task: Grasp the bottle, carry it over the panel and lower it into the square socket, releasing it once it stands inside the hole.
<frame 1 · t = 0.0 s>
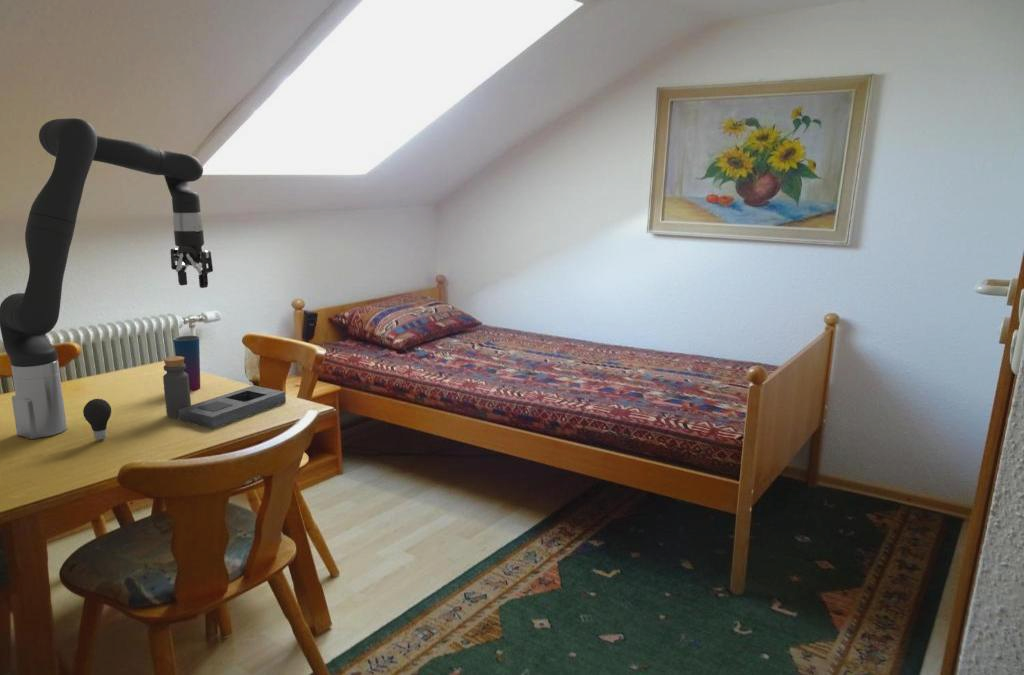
hand: (193, 286, 204), 29 cm above the table, fingers open, 8 cm apart
cup: (191, 389, 207), on the table
panel: (235, 411, 188), on the table
light bulb: (101, 441, 166), on the table
bottle: (179, 415, 184), on the table
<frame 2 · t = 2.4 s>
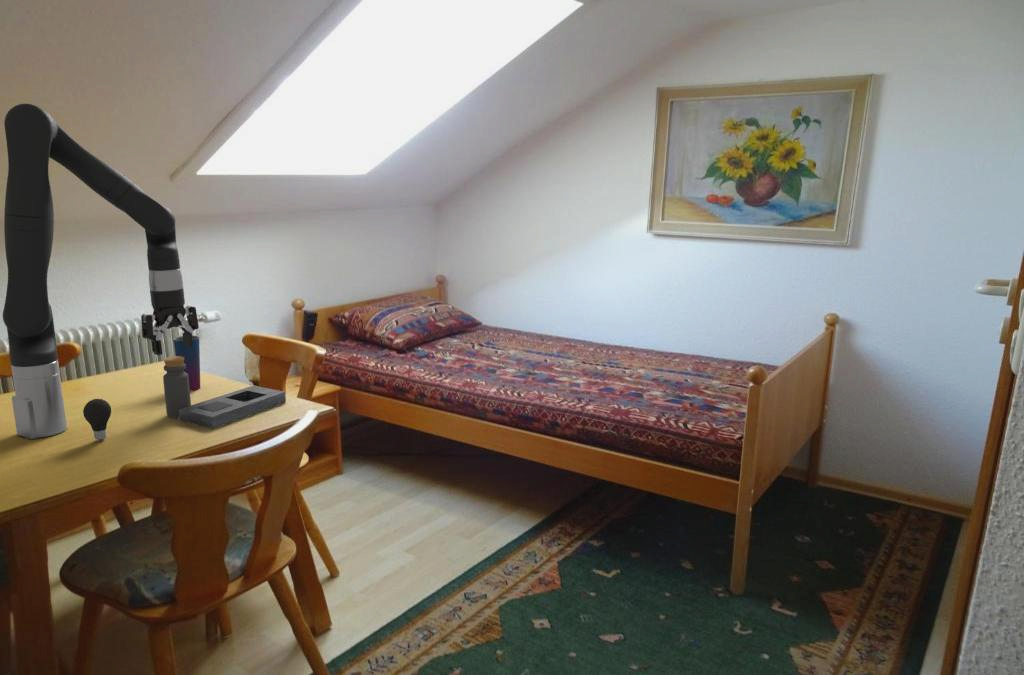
hand: (173, 350, 181), 17 cm above the table, fingers open, 8 cm apart
nothing on the table moved.
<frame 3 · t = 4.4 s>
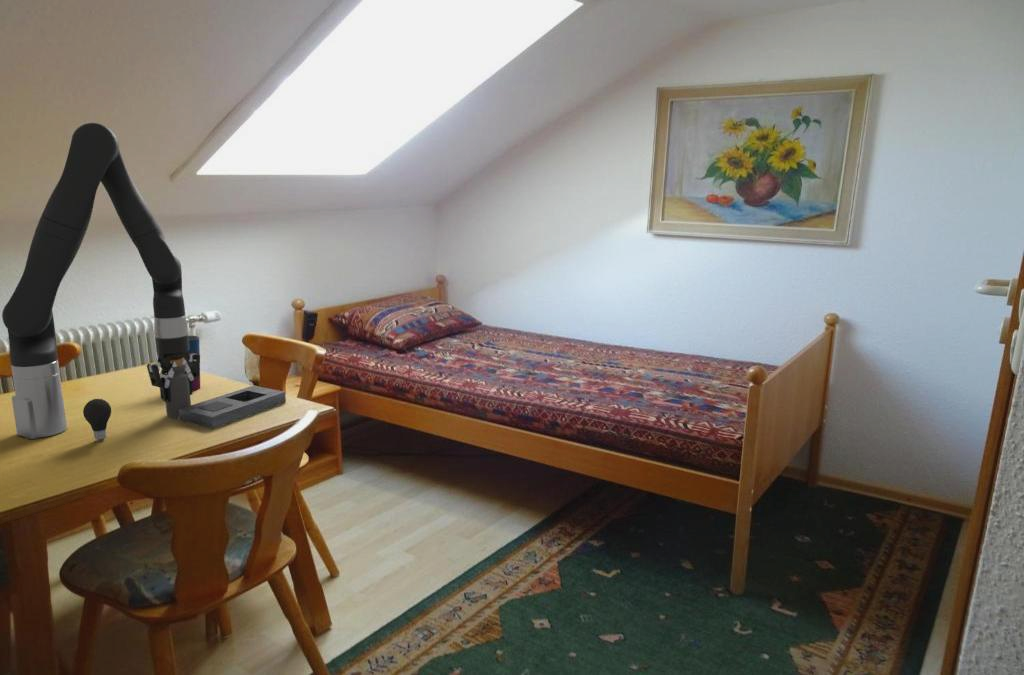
hand: (177, 397, 183), 5 cm above the table, fingers closed on bottle, 5 cm apart
bottle: (179, 415, 184), on the table, touching gripper
everything else where it was.
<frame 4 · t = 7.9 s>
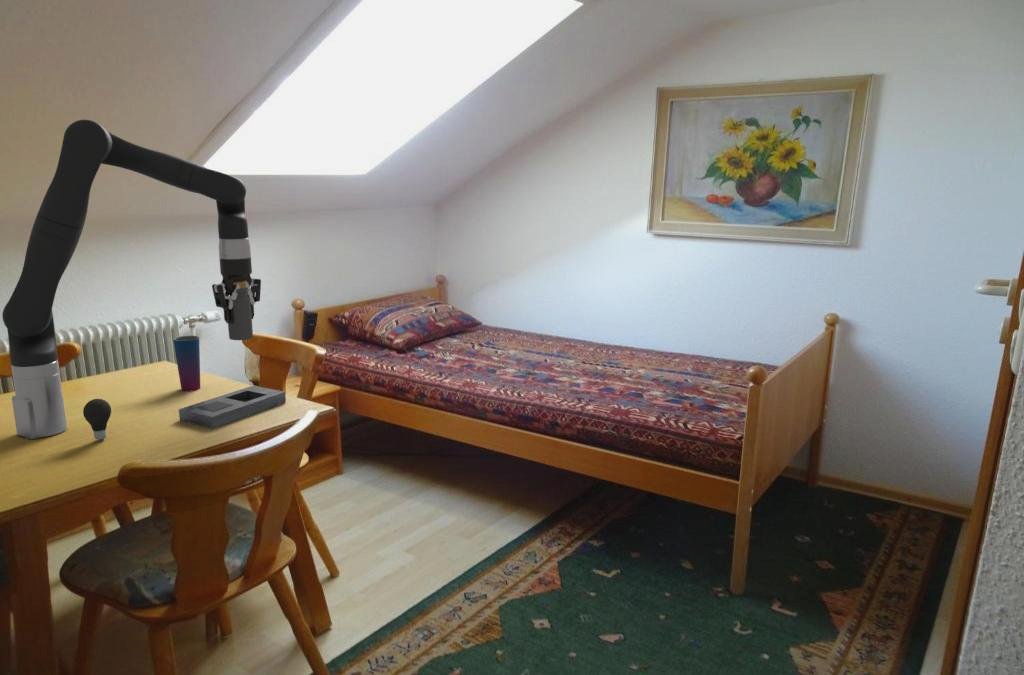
hand: (239, 320, 186), 23 cm above the table, fingers closed on bottle, 5 cm apart
bottle: (241, 338, 187), point 19 cm above the table, touching gripper
everything else where it was.
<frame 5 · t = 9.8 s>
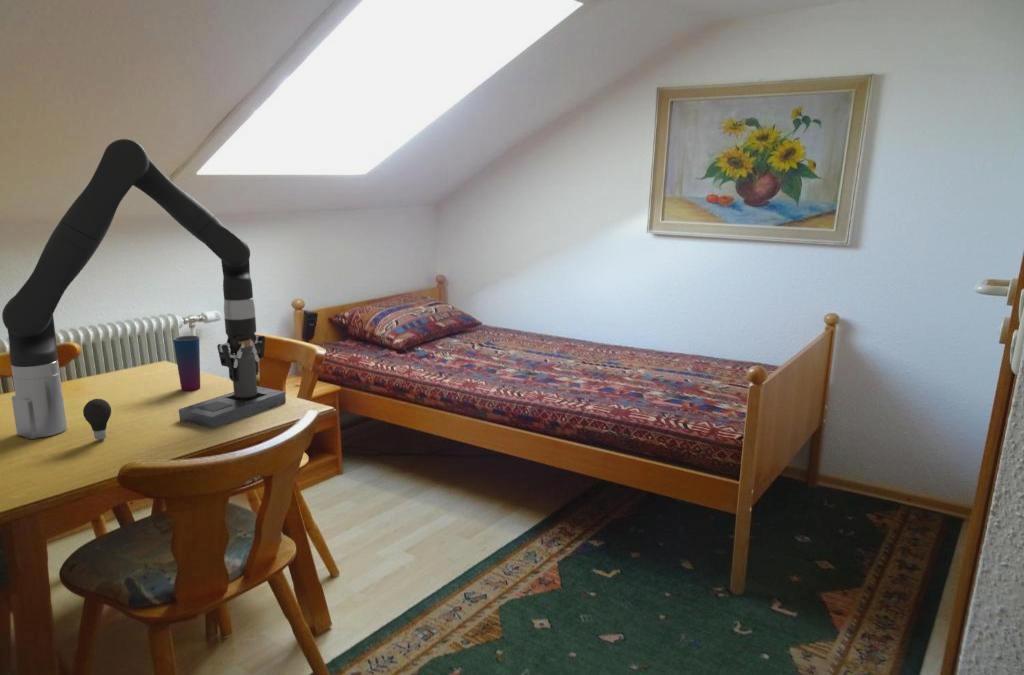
hand: (244, 377, 189), 8 cm above the table, fingers closed on bottle, 5 cm apart
bottle: (245, 395, 190), point 3 cm above the table, touching gripper
everything else where it was.
when the fingers open (6 cm above the table, at t = 11.2 s): bottle drops 1 cm, resting in panel.
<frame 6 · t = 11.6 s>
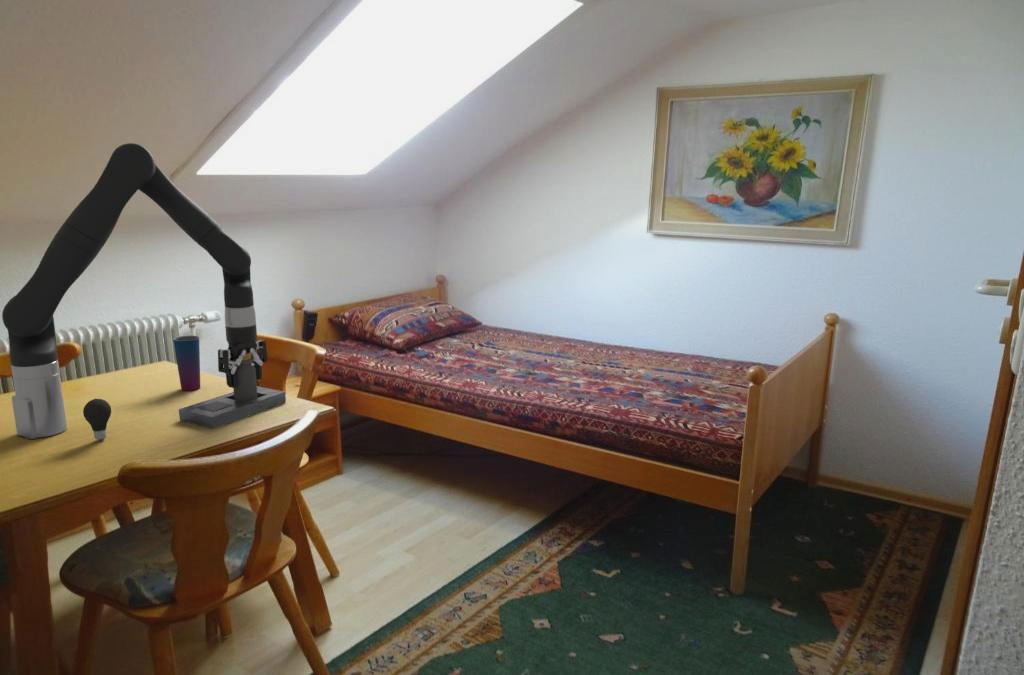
hand: (245, 383, 190), 7 cm above the table, fingers open, 8 cm apart
bottle: (246, 407, 191), resting in panel
everything else where it was.
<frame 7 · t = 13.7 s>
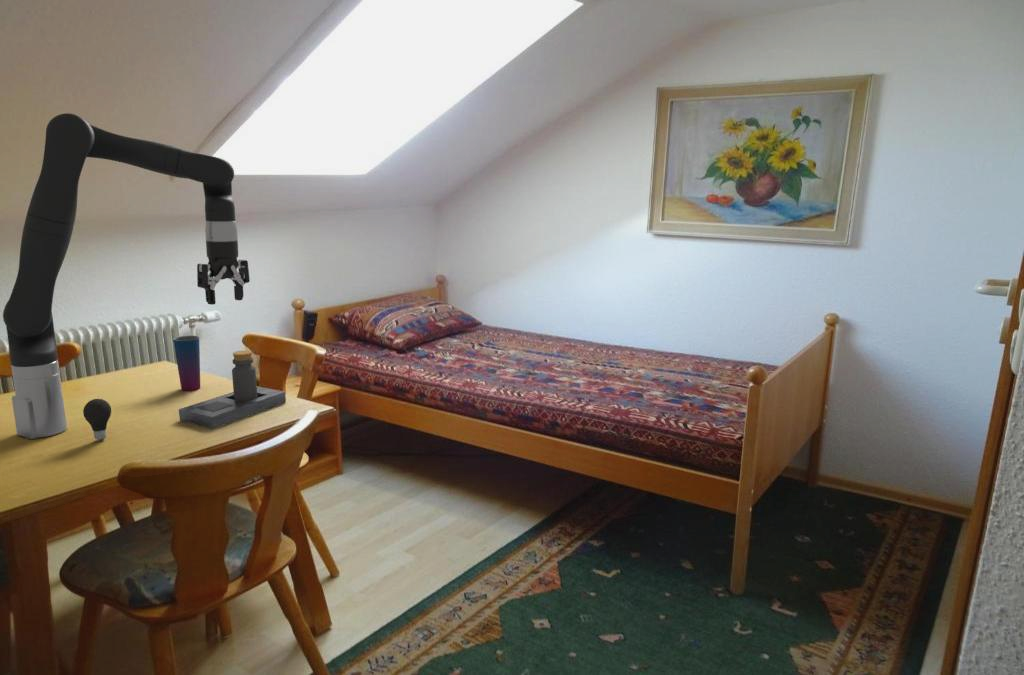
hand: (225, 302, 185), 28 cm above the table, fingers open, 8 cm apart
nothing on the table moved.
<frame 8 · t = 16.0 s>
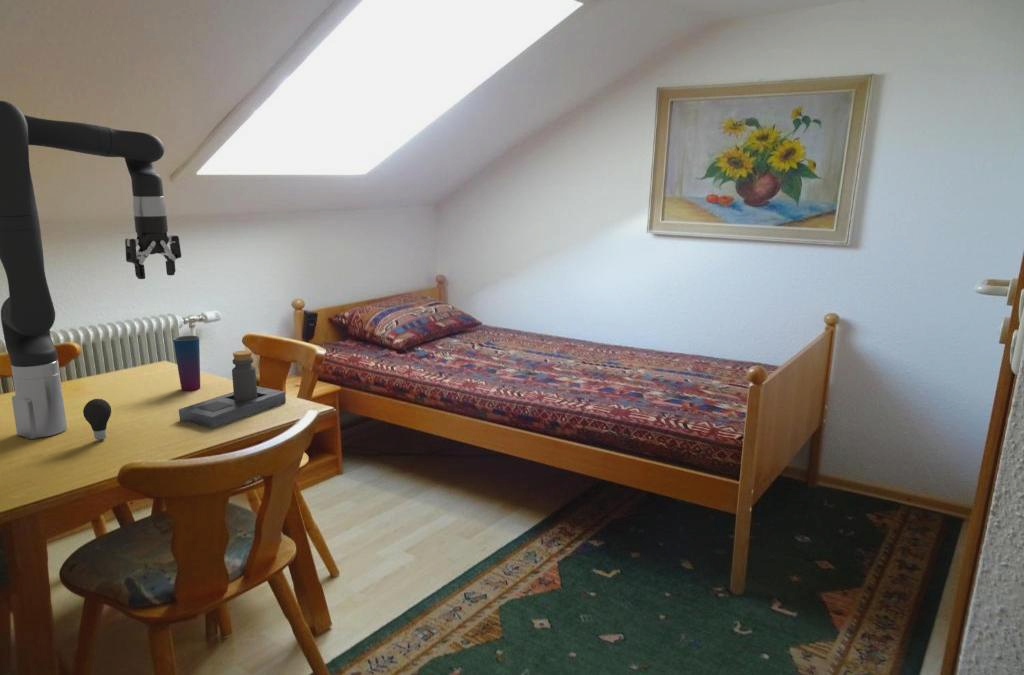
hand: (156, 277, 187), 34 cm above the table, fingers open, 8 cm apart
nothing on the table moved.
at the end: bottle 0.1 cm from the target spot on the panel, point 0.0 cm above the panel's base; bottle tilted 0°; the gripper is holding nothing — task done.
